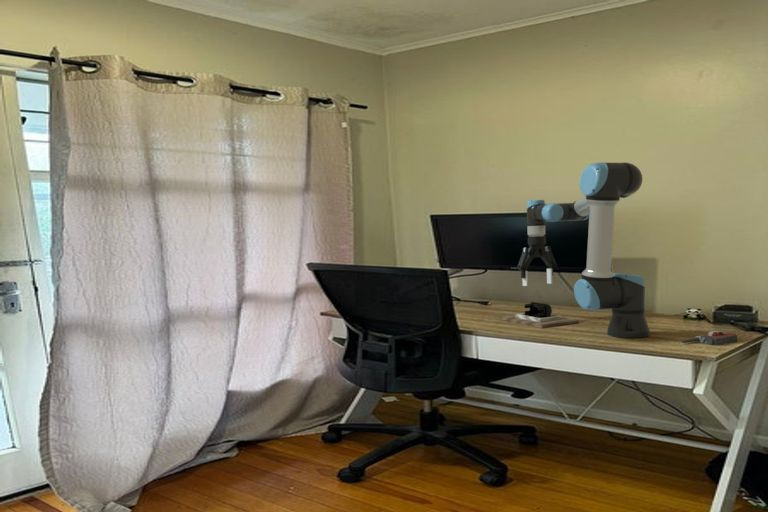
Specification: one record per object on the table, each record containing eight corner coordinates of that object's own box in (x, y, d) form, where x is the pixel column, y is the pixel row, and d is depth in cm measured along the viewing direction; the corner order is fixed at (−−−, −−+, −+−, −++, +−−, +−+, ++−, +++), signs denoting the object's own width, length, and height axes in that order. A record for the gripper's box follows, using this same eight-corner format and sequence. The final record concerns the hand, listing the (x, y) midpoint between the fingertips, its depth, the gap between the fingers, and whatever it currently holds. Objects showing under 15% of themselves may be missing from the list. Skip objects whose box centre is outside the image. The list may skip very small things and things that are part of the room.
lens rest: (578, 323, 277) (578, 316, 276) (542, 328, 267) (542, 321, 267) (534, 314, 301) (534, 309, 301) (499, 319, 292) (499, 313, 292)
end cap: (552, 319, 281) (551, 303, 281) (539, 320, 278) (539, 305, 278) (536, 316, 290) (536, 301, 290) (524, 317, 287) (523, 302, 287)
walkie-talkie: (718, 338, 237) (679, 345, 229) (718, 326, 237) (679, 332, 228) (741, 342, 229) (701, 349, 221) (741, 330, 229) (701, 336, 220)
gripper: (519, 237, 273) (520, 287, 274) (564, 234, 284) (565, 283, 286) (507, 236, 280) (509, 286, 281) (552, 234, 291) (553, 281, 292)
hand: (537, 284), depth 283 cm, fingers open, 13 cm apart
